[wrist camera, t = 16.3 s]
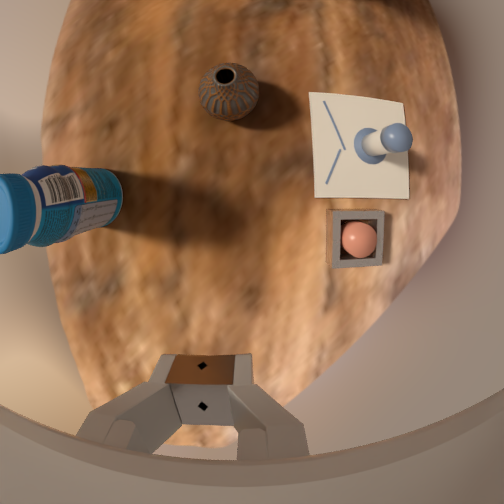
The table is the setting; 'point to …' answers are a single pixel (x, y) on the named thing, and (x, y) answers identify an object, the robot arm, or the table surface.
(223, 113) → the vase
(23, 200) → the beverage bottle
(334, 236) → the button housing
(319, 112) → the drawing pad
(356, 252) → the button
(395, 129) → the dome-topped peg
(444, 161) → the table surface
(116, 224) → the table surface
